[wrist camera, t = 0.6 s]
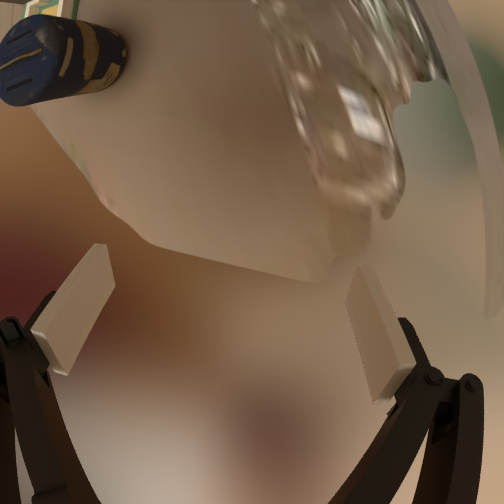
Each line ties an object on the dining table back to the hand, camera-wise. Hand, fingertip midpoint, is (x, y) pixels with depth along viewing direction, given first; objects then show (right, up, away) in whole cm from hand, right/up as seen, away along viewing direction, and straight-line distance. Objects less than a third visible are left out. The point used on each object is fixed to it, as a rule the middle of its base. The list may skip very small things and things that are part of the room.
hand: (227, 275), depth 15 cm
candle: (-19, +27, +15) cm, 37 cm away
